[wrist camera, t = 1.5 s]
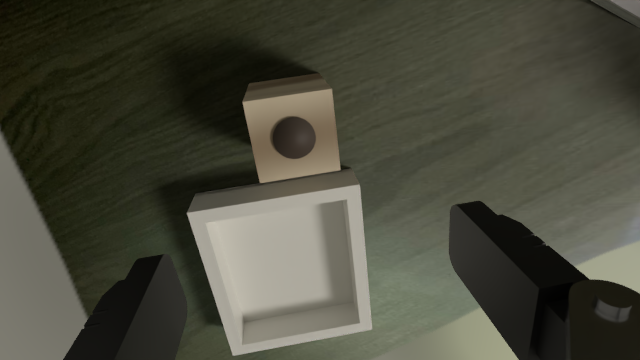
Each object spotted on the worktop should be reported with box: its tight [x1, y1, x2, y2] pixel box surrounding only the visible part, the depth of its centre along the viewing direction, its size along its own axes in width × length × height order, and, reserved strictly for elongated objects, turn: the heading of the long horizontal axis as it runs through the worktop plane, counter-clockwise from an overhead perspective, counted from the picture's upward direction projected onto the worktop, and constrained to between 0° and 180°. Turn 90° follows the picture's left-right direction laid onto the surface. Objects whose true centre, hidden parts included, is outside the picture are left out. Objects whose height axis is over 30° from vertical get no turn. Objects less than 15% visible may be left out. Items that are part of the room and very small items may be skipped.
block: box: [243, 73, 341, 183], centre depth 23 cm, size 5×5×6 cm
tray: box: [187, 168, 372, 356], centre depth 29 cm, size 14×12×3 cm
